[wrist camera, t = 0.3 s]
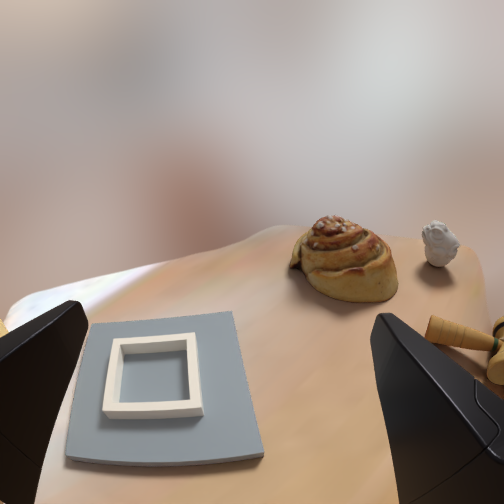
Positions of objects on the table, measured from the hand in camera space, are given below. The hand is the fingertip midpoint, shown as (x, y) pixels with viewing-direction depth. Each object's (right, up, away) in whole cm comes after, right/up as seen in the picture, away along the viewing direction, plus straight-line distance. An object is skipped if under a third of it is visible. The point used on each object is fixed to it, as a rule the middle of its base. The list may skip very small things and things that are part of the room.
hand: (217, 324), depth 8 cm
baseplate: (-8, -10, +16) cm, 20 cm away
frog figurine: (+30, 0, +32) cm, 44 cm away
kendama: (+27, -10, +15) cm, 33 cm away
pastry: (+13, -1, +31) cm, 34 cm away
